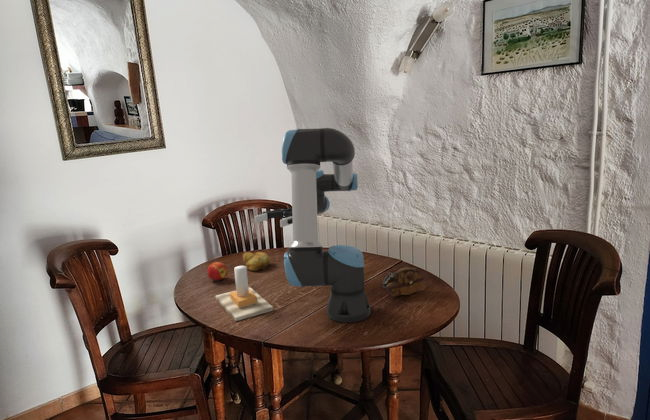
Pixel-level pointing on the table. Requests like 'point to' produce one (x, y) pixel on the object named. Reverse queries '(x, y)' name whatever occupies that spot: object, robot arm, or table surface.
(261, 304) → the plywood board
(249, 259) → the bread roll
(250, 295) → the block
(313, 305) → the table surface
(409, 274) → the wooden carving
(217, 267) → the apple
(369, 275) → the table surface
